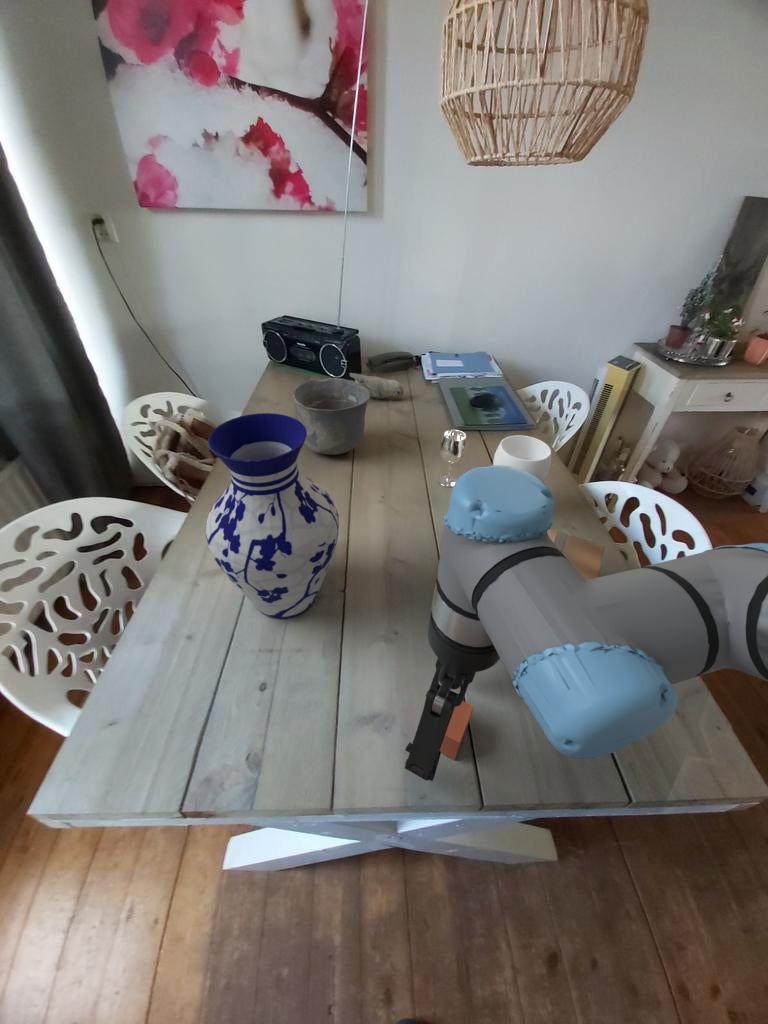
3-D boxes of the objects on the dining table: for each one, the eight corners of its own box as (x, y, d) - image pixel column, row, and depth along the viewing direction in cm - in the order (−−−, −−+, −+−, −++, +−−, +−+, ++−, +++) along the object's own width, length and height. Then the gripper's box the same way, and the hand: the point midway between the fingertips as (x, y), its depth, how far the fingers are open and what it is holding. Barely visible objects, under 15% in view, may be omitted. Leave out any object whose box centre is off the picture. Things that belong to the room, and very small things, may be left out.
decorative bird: (402, 404, 131) (403, 380, 126) (348, 400, 132) (348, 376, 127) (403, 396, 135) (404, 372, 130) (351, 393, 136) (351, 369, 131)
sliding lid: (592, 605, 63) (598, 592, 62) (500, 571, 68) (503, 558, 66) (603, 549, 73) (608, 536, 71) (521, 523, 77) (524, 510, 76)
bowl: (375, 435, 116) (376, 380, 106) (363, 472, 102) (363, 413, 93) (310, 429, 118) (305, 374, 108) (289, 464, 104) (281, 405, 95)
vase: (272, 664, 64) (231, 500, 45) (205, 592, 74) (149, 433, 55) (366, 592, 74) (365, 436, 55) (297, 538, 84) (276, 390, 65)
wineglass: (432, 484, 99) (437, 438, 92) (440, 472, 103) (446, 426, 96) (456, 491, 97) (464, 444, 90) (464, 478, 101) (471, 432, 94)
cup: (505, 488, 99) (519, 428, 89) (545, 511, 93) (565, 450, 83) (473, 506, 93) (485, 444, 84) (514, 532, 87) (531, 469, 78)
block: (454, 760, 54) (459, 742, 51) (417, 740, 56) (420, 722, 53) (468, 724, 58) (473, 706, 54) (432, 707, 59) (436, 687, 56)
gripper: (463, 762, 32) (433, 844, 45) (540, 548, 49) (502, 655, 62) (372, 712, 34) (370, 804, 48) (475, 526, 51) (452, 633, 65)
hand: (444, 720), depth 55 cm, fingers open, 13 cm apart
